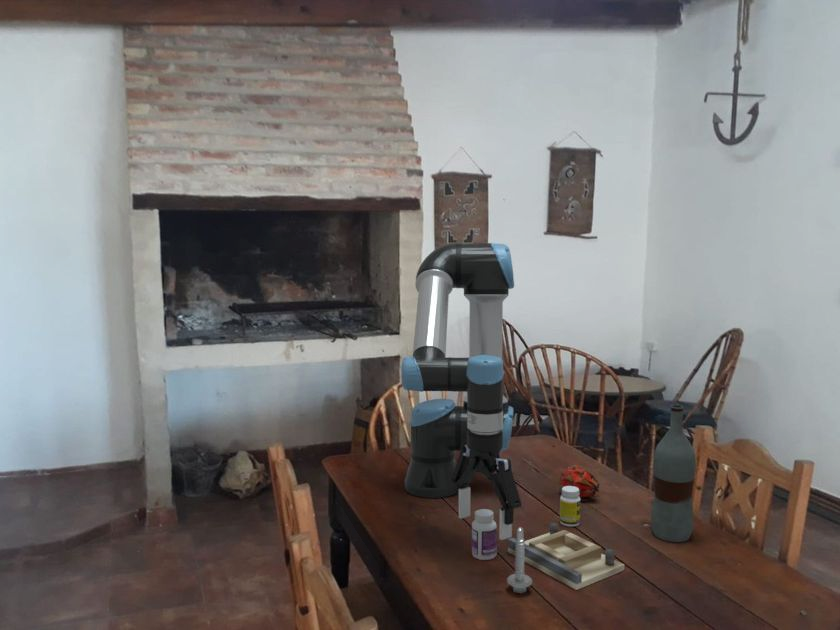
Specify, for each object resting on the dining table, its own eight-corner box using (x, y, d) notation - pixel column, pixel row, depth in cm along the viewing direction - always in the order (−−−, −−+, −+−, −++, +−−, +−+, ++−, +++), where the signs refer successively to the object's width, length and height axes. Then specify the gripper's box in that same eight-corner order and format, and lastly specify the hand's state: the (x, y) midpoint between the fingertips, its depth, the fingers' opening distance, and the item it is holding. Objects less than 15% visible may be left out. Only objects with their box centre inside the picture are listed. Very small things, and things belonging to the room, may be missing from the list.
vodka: (701, 541, 168) (707, 410, 164) (662, 545, 167) (668, 412, 162) (679, 524, 177) (685, 399, 173) (643, 527, 176) (647, 401, 172)
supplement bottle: (580, 527, 176) (580, 493, 175) (559, 526, 177) (560, 491, 176) (579, 519, 181) (580, 485, 179) (559, 518, 182) (560, 484, 180)
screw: (509, 596, 145) (504, 584, 150) (534, 595, 146) (528, 583, 150) (510, 532, 143) (505, 522, 148) (535, 531, 144) (529, 521, 148)
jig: (507, 552, 164) (508, 534, 163) (554, 535, 172) (554, 519, 171) (576, 590, 148) (576, 570, 147) (624, 570, 156) (624, 551, 155)
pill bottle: (499, 551, 164) (499, 509, 163) (493, 562, 159) (493, 518, 158) (475, 548, 166) (475, 506, 165) (468, 558, 161) (468, 515, 160)
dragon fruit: (562, 493, 201) (595, 514, 192) (545, 481, 196) (579, 503, 186) (579, 466, 202) (613, 485, 193) (562, 453, 197) (597, 473, 187)
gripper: (435, 420, 167) (435, 512, 169) (511, 447, 146) (510, 552, 149) (462, 414, 171) (462, 505, 174) (539, 441, 151) (538, 542, 153)
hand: (484, 527), depth 161 cm, fingers open, 13 cm apart
